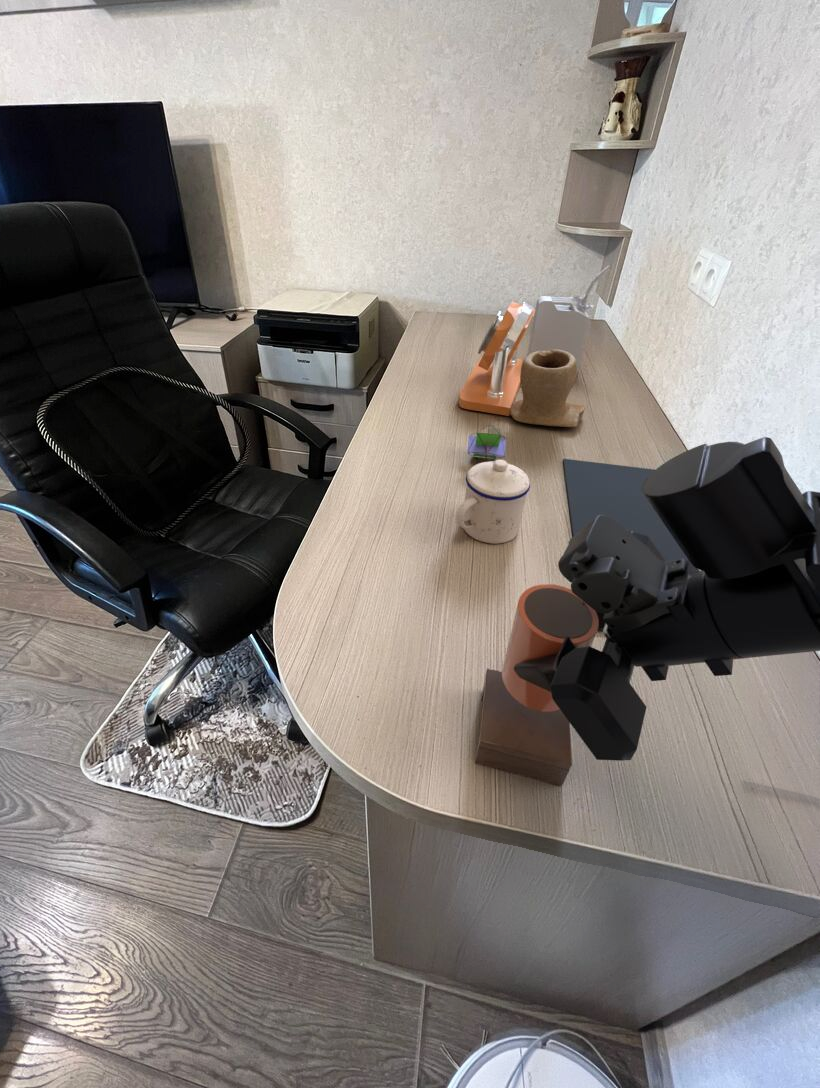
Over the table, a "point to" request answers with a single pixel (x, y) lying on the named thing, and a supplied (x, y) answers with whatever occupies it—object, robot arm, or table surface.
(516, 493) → the teacup with lid
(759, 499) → the robot arm
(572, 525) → the desk mat
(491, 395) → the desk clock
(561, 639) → the cup
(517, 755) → the brown square slab
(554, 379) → the stone cup
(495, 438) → the geometric puzzle
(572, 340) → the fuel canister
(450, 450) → the table surface
